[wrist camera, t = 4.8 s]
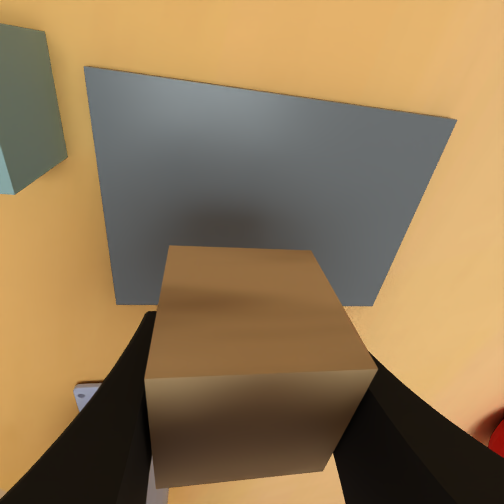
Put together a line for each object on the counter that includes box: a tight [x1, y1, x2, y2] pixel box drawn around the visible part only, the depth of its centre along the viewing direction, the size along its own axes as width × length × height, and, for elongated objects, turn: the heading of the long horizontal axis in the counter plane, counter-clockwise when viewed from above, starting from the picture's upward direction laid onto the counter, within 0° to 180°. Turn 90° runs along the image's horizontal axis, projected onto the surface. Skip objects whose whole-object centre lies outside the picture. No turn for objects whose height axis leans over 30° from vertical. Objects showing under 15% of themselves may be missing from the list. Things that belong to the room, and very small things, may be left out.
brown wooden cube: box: [144, 245, 378, 489], centre depth 10 cm, size 5×5×5 cm
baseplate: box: [84, 66, 457, 306], centre depth 18 cm, size 13×18×1 cm
